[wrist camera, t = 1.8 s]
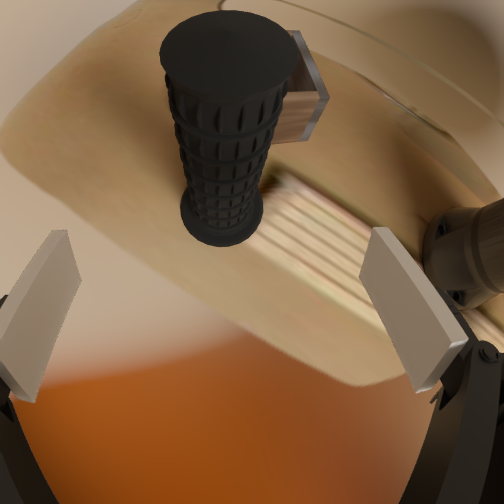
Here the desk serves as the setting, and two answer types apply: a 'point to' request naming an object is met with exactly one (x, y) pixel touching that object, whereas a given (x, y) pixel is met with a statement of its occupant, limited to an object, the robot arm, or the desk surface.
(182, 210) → the handle grip
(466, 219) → the robot arm
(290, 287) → the desk surface
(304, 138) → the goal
